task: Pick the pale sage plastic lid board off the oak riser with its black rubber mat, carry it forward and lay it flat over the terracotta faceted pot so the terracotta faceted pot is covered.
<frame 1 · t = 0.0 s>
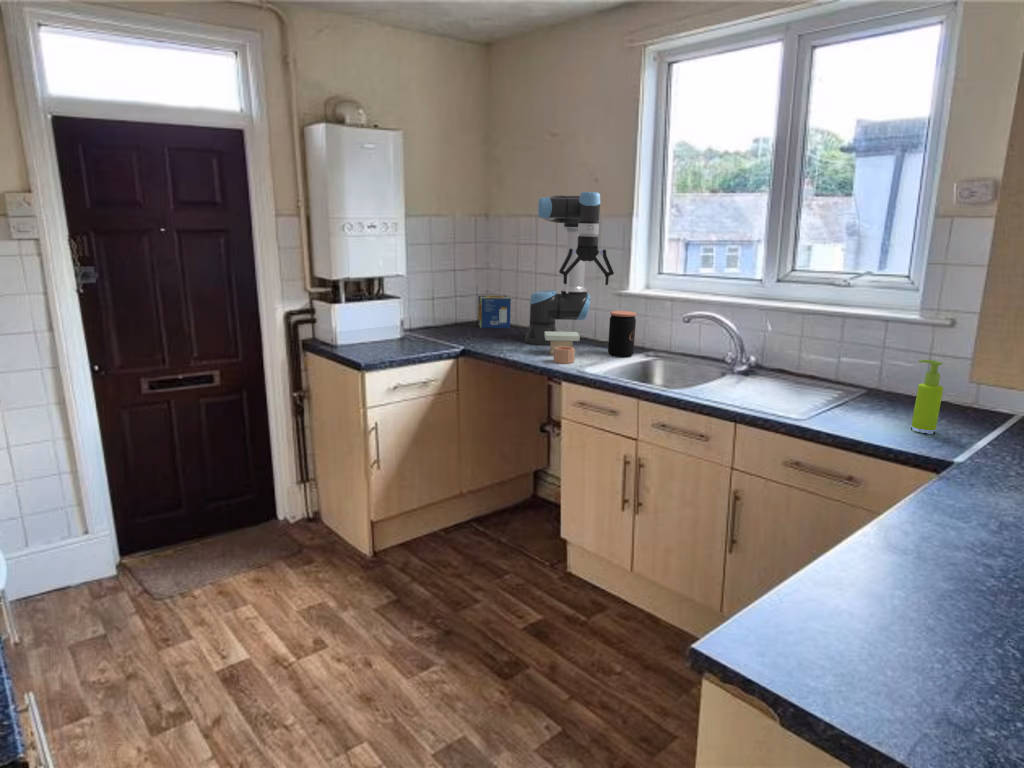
hand: (585, 293, 252), 28 cm above the worktop, tool pointing down, fingers open, 13 cm apart
riser: (561, 353, 281), on the worktop
lid: (561, 338, 280), point 6 cm above the worktop, touching riser
soap dispenser: (920, 431, 188), on the worktop
terracotta faceted pot: (563, 361, 266), on the worktop
protein box: (493, 327, 346), on the worktop
coffee jar: (620, 355, 281), on the worktop
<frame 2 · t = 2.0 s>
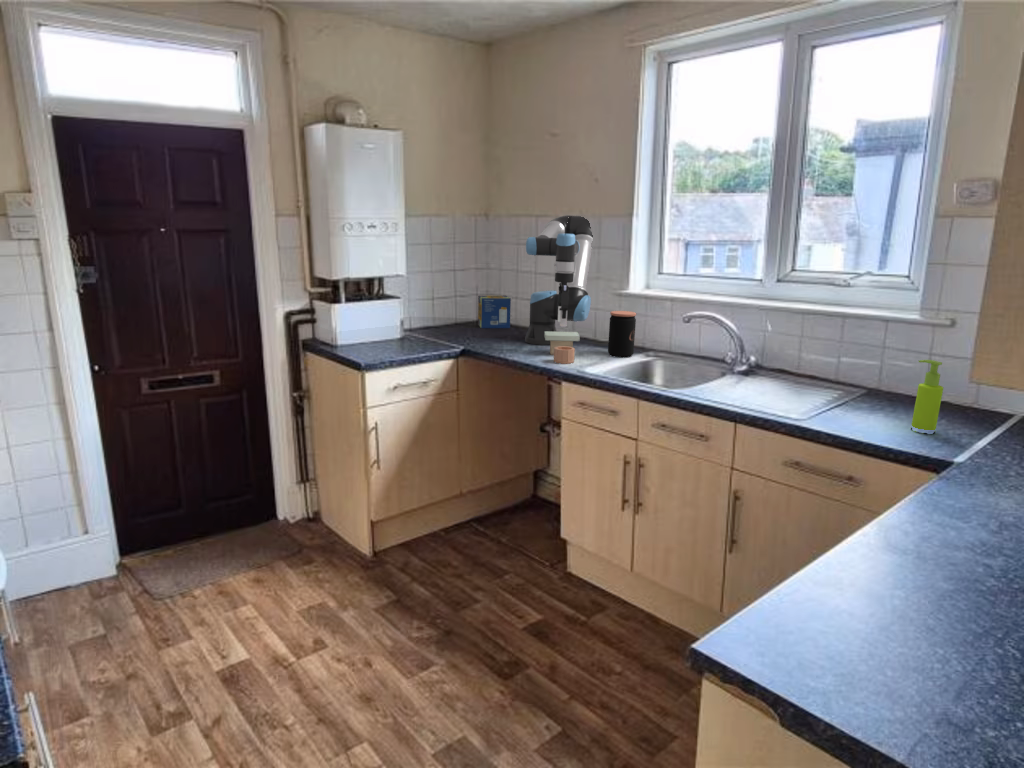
hand: (562, 324, 278), 13 cm above the worktop, tool pointing down, fingers open, 13 cm apart
nothing on the worktop moved.
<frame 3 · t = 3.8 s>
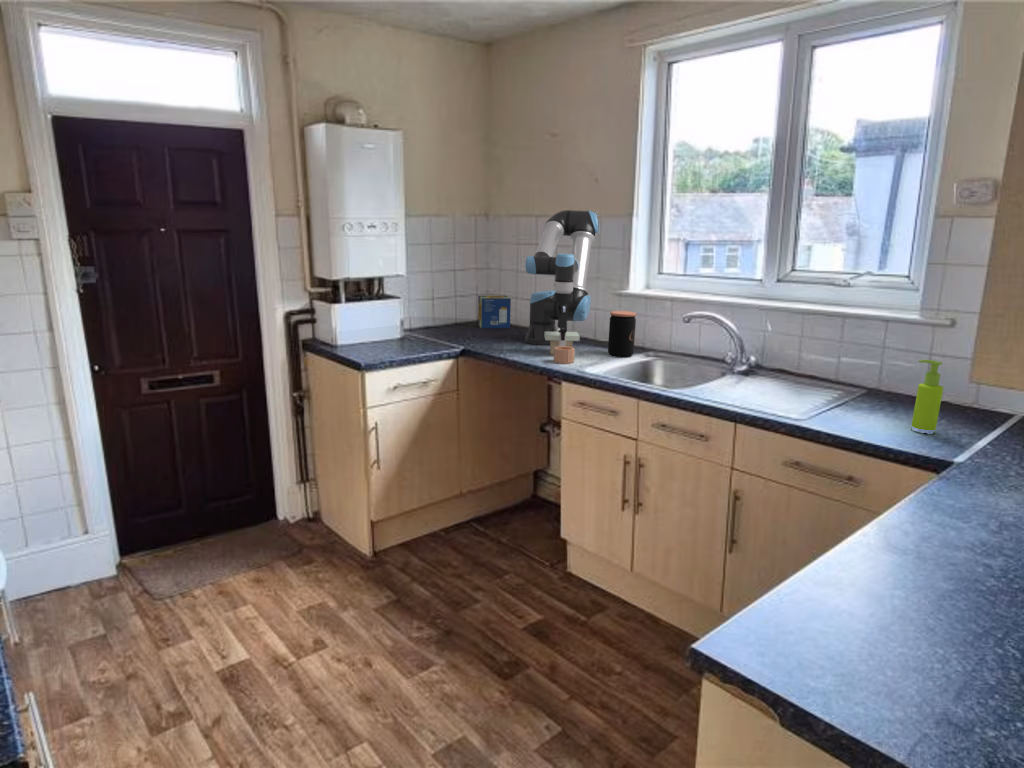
hand: (561, 345, 280), 4 cm above the worktop, tool pointing down, fingers closed on lid, 10 cm apart
lid: (561, 338, 280), point 6 cm above the worktop, touching gripper, riser
everything else where it was.
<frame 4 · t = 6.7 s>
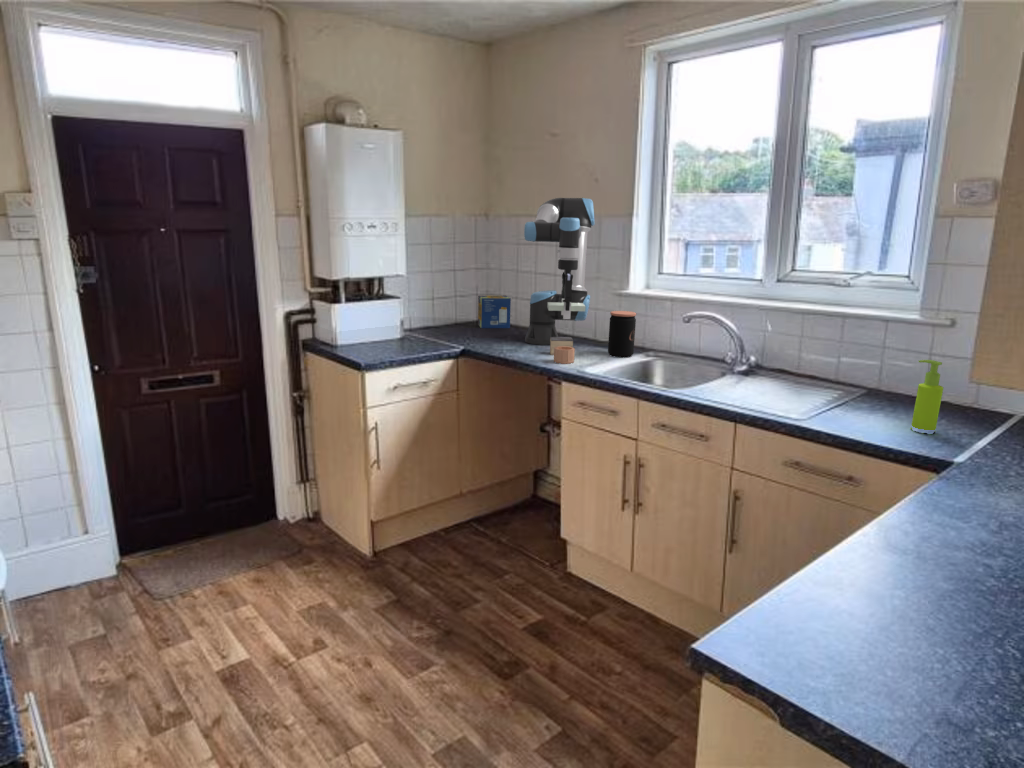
hand: (565, 317, 261), 18 cm above the worktop, tool pointing down, fingers closed on lid, 10 cm apart
lid: (565, 309, 261), point 21 cm above the worktop, touching gripper
everything else where it was.
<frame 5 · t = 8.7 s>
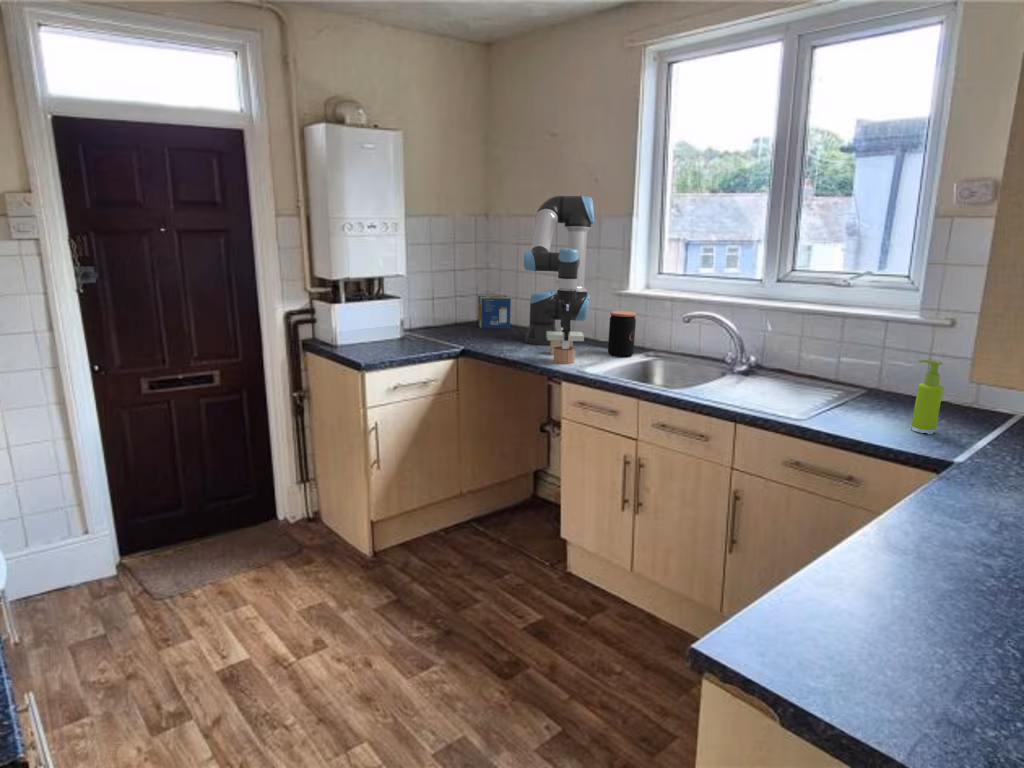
hand: (564, 346, 264), 6 cm above the worktop, tool pointing down, fingers closed on lid, 10 cm apart
lid: (564, 338, 263), point 9 cm above the worktop, touching gripper
everything else where it was.
when the fingers open (5 cm above the worktop, at t = 10.1 s): lid drops 2 cm, resting on terracotta faceted pot.
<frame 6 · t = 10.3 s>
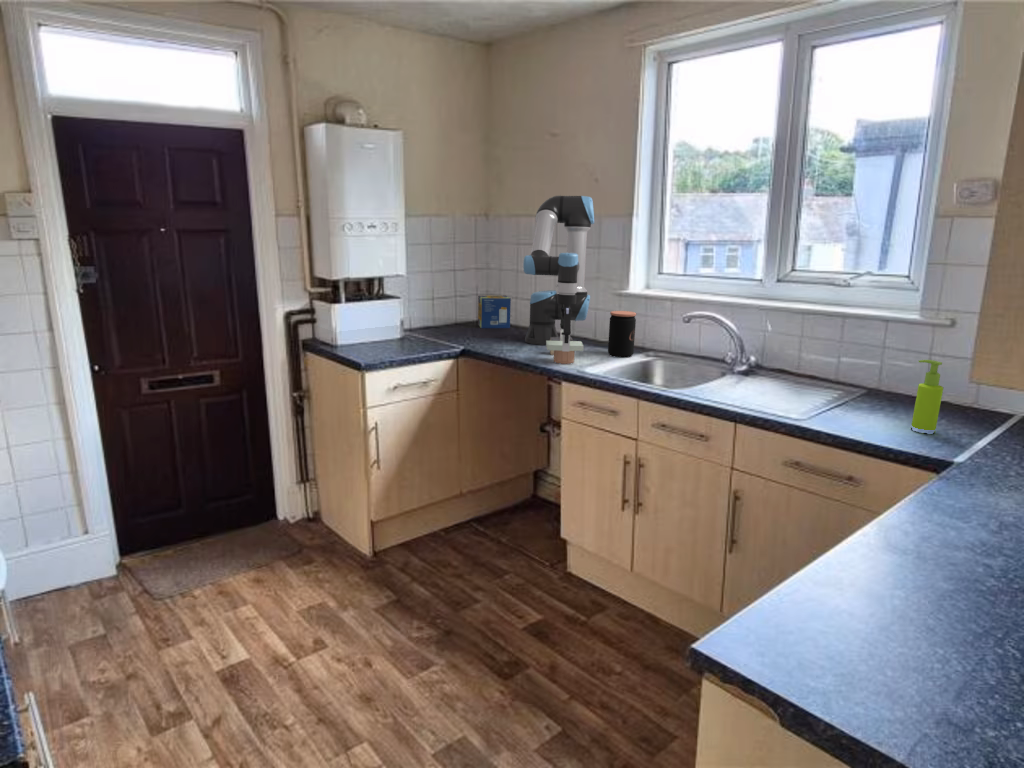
hand: (564, 348, 264), 6 cm above the worktop, tool pointing down, fingers open, 12 cm apart
lid: (564, 348, 264), point 5 cm above the worktop, touching terracotta faceted pot
everything else where it was.
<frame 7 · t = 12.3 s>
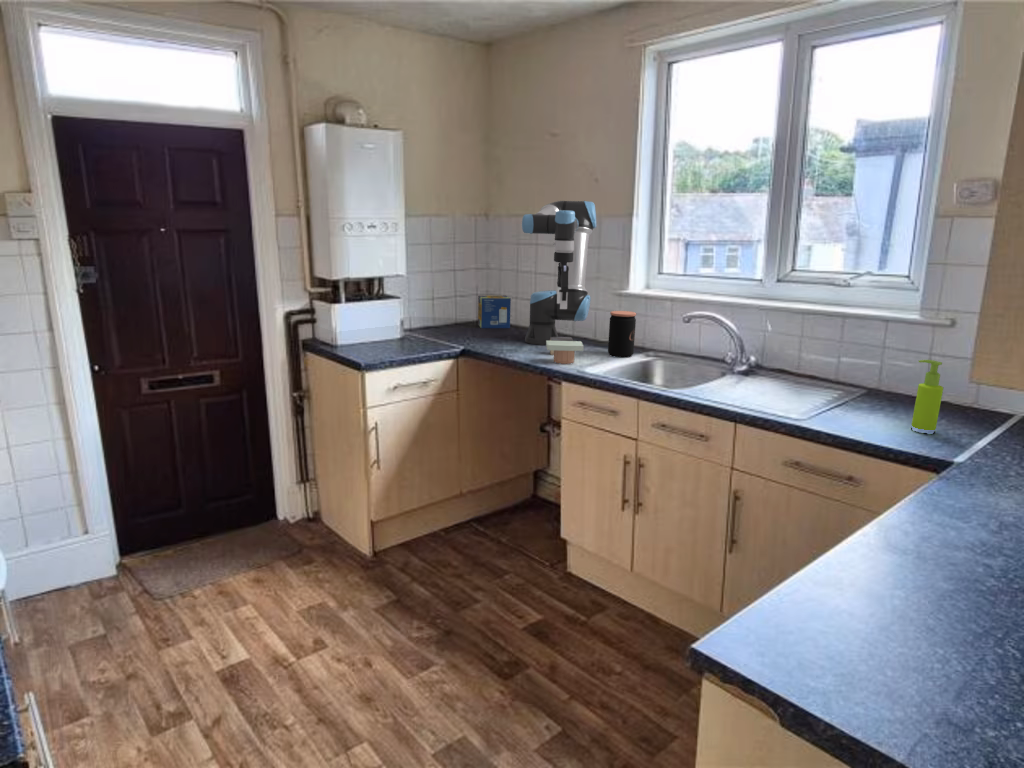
hand: (561, 306, 265), 21 cm above the worktop, tool pointing down, fingers open, 13 cm apart
nothing on the worktop moved.
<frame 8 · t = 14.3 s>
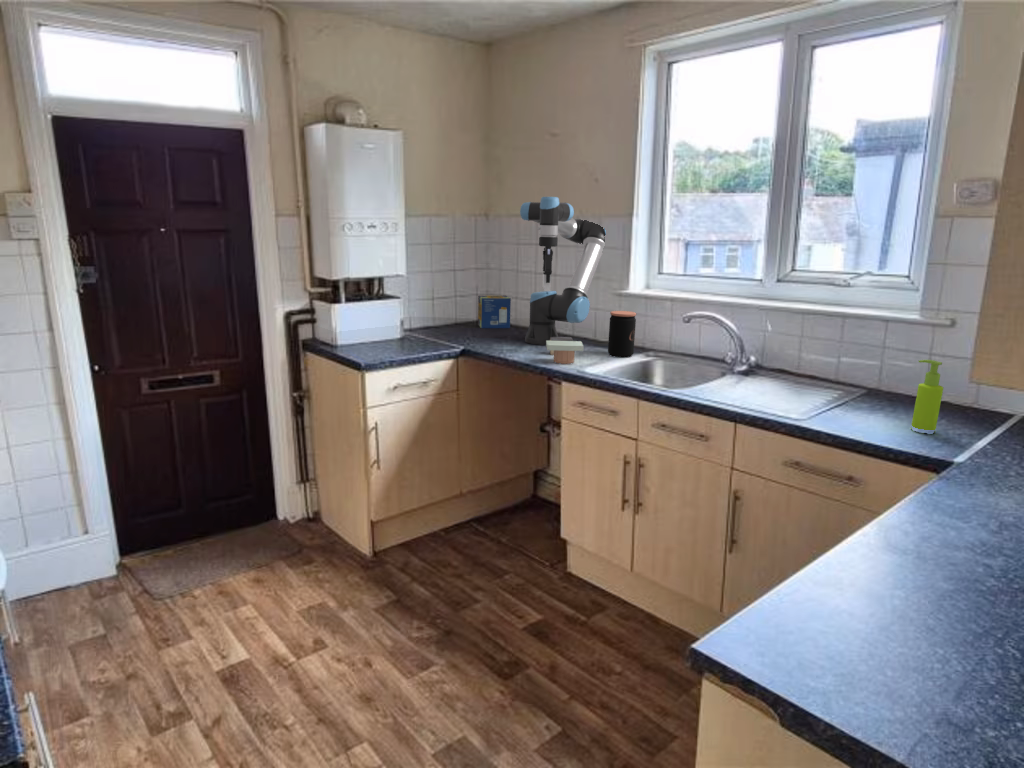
hand: (546, 289, 276), 27 cm above the worktop, tool pointing down, fingers open, 13 cm apart
nothing on the worktop moved.
at the end: lid 0.0 cm off-centre on the terracotta faceted pot, point 5.5 cm above the terracotta faceted pot's base; lid tilted 0°; the gripper is holding nothing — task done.
